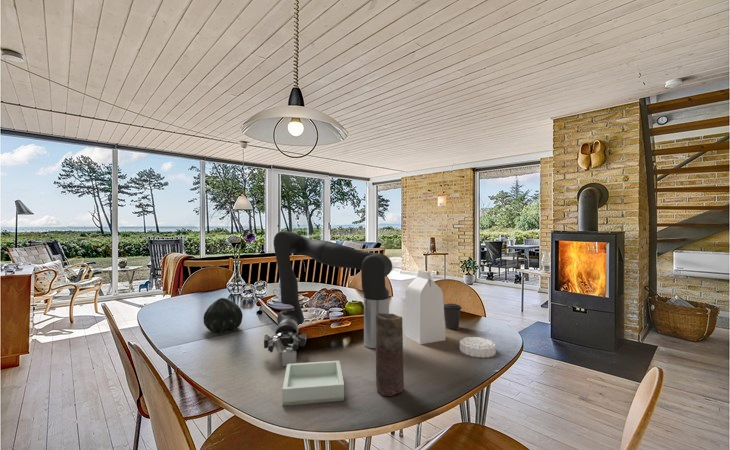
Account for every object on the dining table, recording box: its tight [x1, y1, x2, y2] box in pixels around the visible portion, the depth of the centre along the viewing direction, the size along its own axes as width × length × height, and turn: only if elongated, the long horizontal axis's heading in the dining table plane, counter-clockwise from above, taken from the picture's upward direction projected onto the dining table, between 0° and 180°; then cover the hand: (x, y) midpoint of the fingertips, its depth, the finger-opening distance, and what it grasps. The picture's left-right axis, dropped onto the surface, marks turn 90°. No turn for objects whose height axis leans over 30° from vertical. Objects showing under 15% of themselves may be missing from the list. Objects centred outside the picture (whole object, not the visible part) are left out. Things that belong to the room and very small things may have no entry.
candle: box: [375, 313, 405, 397], centre depth 88 cm, size 8×7×20 cm
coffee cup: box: [444, 303, 462, 330], centre depth 143 cm, size 8×8×10 cm
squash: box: [203, 297, 244, 335], centre depth 138 cm, size 14×15×15 cm
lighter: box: [273, 338, 297, 367], centre depth 104 cm, size 7×2×8 cm, turn 80°
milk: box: [403, 269, 446, 345], centre depth 130 cm, size 12×12×26 cm
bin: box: [281, 360, 345, 407], centre depth 89 cm, size 15×15×4 cm
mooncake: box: [459, 336, 497, 359], centre depth 116 cm, size 12×12×4 cm
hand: (282, 348), depth 102 cm, fingers closed on lighter, 6 cm apart
